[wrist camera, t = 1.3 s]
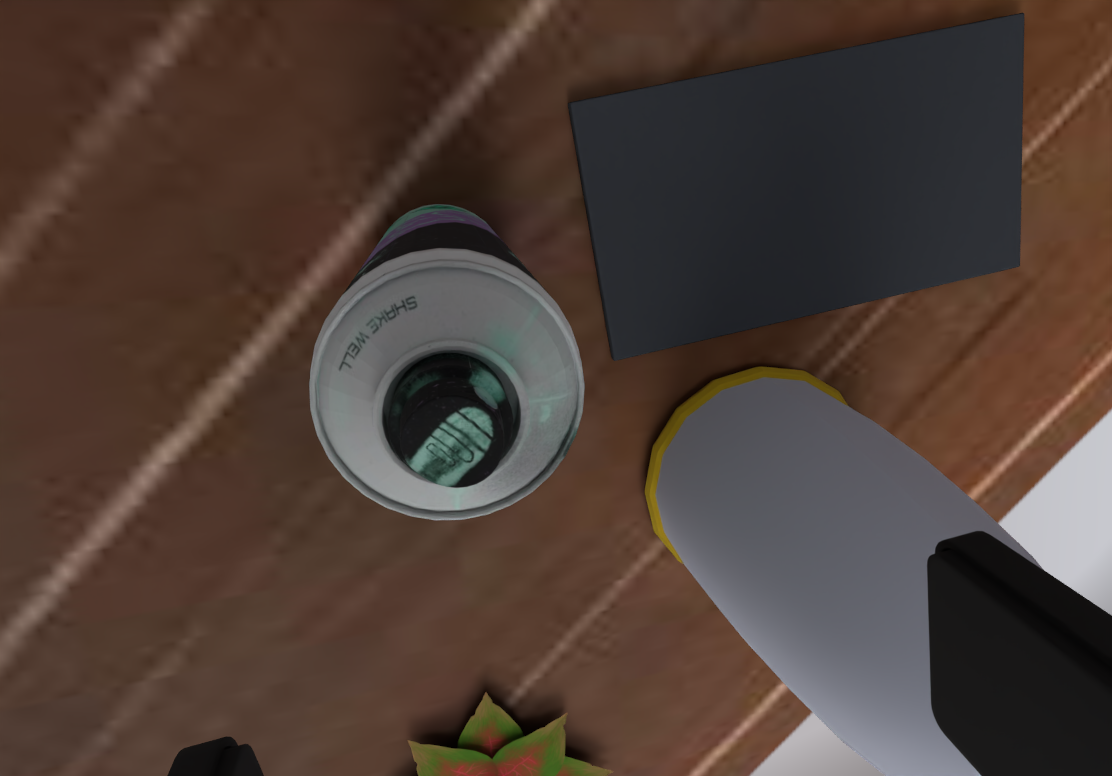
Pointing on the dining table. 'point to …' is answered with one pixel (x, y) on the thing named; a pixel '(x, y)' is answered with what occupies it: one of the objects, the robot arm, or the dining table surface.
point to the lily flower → (502, 750)
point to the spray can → (445, 372)
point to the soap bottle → (817, 551)
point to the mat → (803, 183)
